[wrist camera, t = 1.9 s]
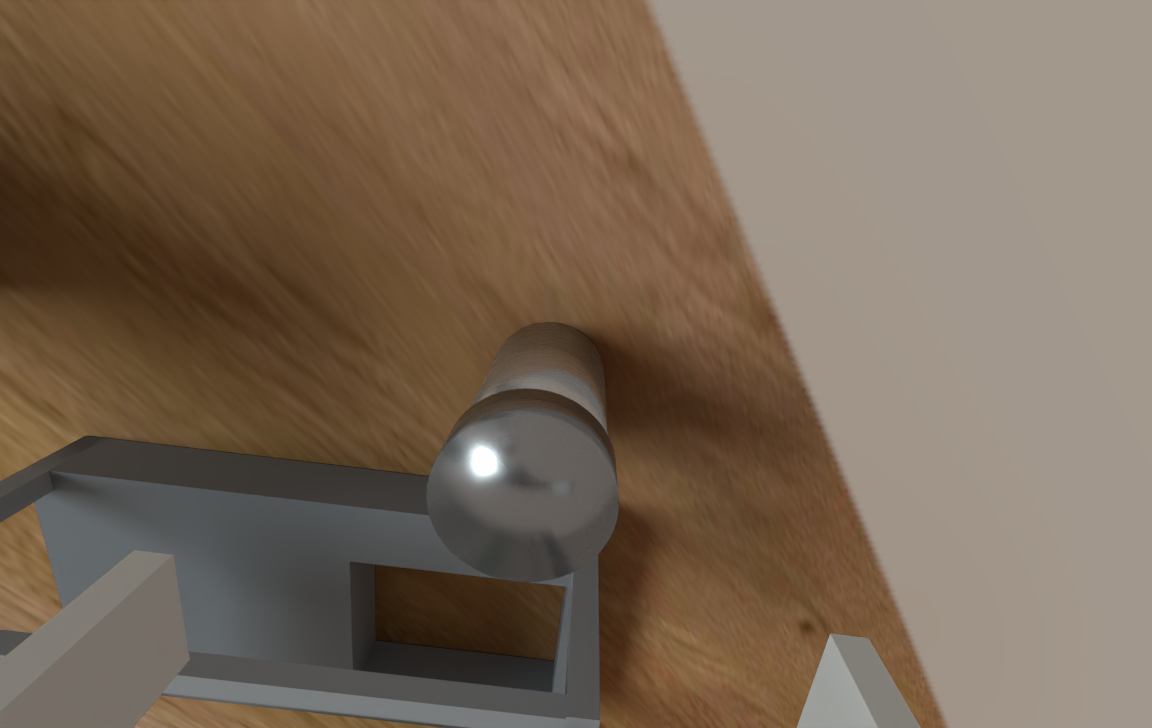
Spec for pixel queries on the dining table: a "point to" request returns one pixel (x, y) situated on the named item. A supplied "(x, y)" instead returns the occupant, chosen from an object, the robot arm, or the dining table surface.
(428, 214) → the dining table surface
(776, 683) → the dining table surface
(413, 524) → the housing
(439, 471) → the metal cylinder
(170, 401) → the dining table surface
